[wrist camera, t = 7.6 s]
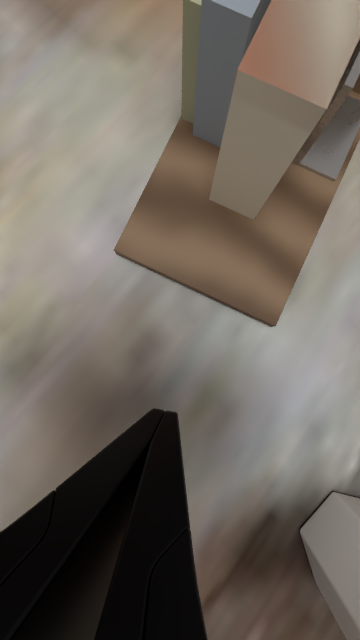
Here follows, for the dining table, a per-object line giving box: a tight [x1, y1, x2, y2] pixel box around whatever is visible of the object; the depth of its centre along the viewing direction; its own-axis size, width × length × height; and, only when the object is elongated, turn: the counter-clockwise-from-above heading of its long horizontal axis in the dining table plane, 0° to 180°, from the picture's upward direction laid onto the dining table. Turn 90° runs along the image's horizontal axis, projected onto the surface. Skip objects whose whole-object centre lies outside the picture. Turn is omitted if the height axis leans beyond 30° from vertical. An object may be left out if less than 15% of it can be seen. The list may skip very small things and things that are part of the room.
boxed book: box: [209, 0, 360, 220], centre depth 16 cm, size 14×4×10 cm, turn 155°
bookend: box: [292, 39, 360, 182], centre depth 17 cm, size 8×4×6 cm, turn 155°
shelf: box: [114, 74, 360, 326], centre depth 17 cm, size 25×16×8 cm, turn 155°
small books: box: [182, 0, 271, 147], centre depth 17 cm, size 10×5×8 cm, turn 155°
